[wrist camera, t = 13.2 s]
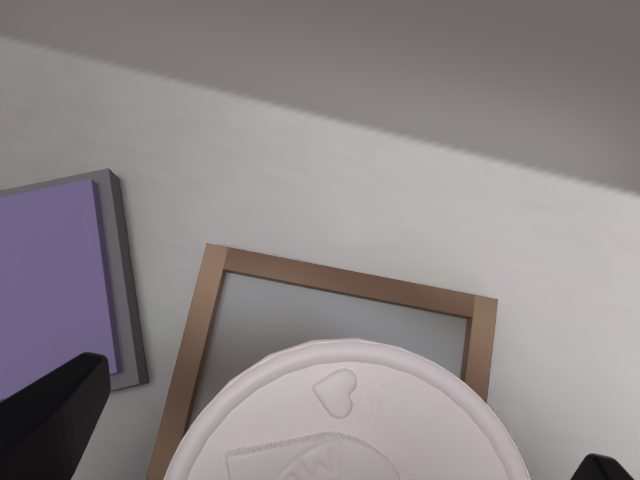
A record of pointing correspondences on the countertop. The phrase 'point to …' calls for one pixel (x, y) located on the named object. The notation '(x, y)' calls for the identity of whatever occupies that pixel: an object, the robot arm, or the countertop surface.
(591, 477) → the robot arm
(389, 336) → the marked square
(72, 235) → the ink pad
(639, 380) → the countertop surface
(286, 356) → the smoothie
